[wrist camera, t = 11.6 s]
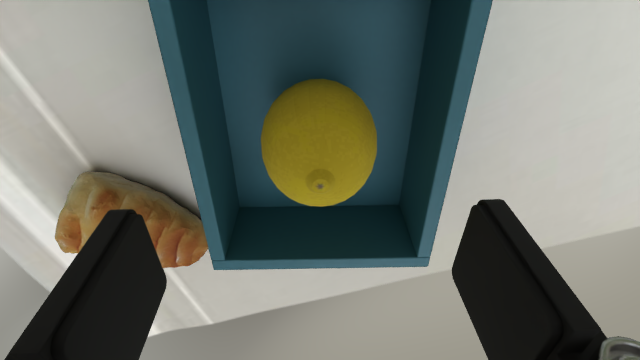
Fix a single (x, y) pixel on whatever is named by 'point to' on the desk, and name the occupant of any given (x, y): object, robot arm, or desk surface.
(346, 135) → the lemon
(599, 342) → the robot arm
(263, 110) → the teal open bin
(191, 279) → the desk surface
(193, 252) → the pastry
